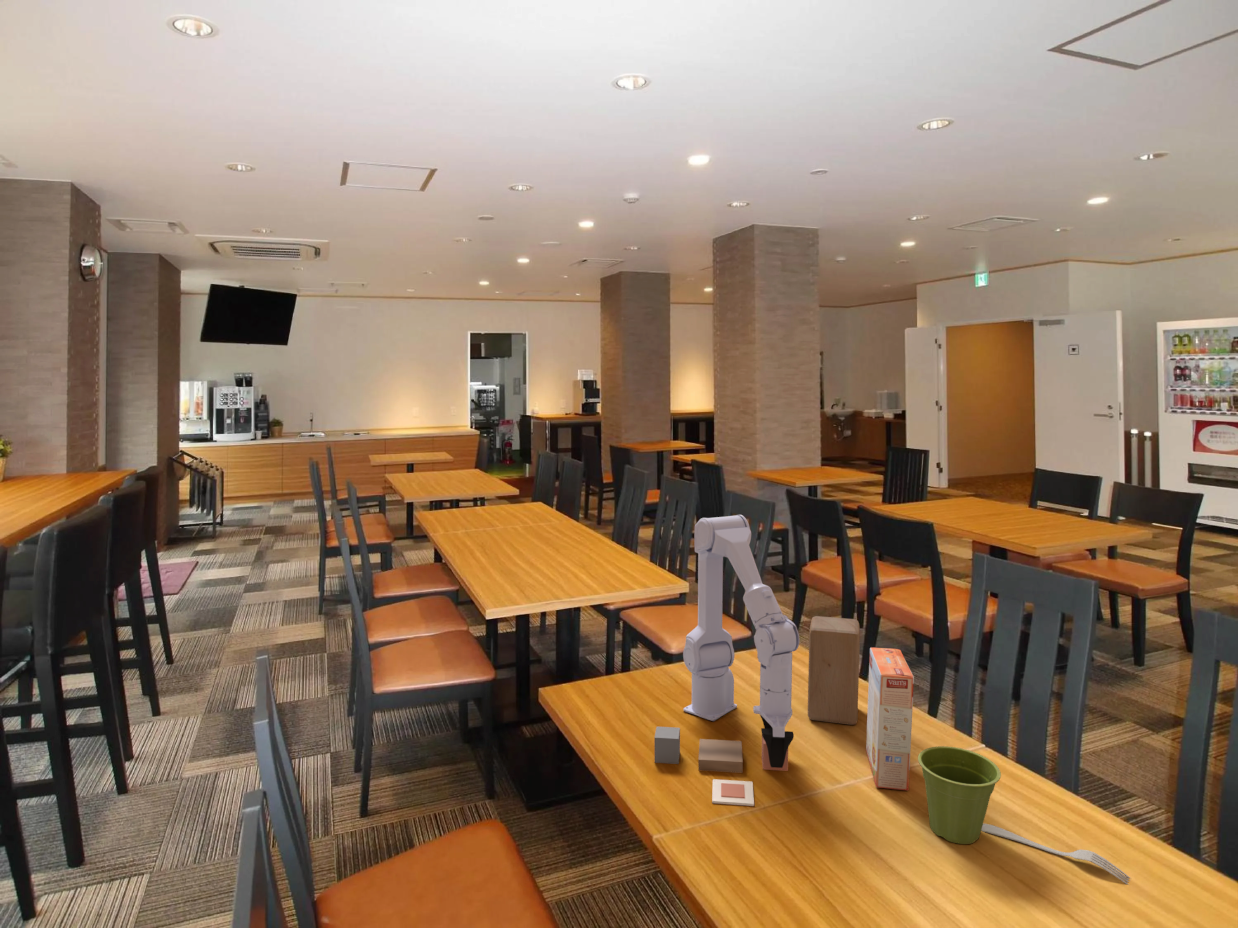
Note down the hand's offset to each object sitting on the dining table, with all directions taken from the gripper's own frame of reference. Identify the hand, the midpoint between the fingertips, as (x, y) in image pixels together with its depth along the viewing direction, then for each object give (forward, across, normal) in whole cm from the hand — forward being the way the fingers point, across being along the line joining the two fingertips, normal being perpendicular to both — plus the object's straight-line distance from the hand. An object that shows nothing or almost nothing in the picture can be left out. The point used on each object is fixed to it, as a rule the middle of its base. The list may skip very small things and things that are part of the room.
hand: (774, 755), depth 140 cm
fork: (+2, +22, +39) cm, 45 cm away
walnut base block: (+2, 0, -10) cm, 10 cm away
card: (+2, +11, -8) cm, 14 cm away
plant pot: (+2, +18, +27) cm, 32 cm away
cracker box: (+2, 0, +20) cm, 20 cm away
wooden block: (+2, -22, +14) cm, 27 cm away
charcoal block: (+2, 0, -20) cm, 20 cm away
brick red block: (+2, 0, 0) cm, 2 cm away
